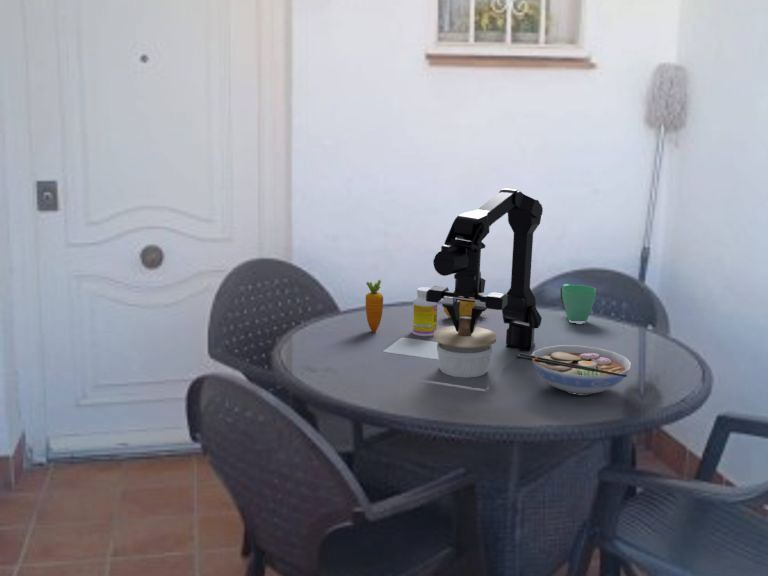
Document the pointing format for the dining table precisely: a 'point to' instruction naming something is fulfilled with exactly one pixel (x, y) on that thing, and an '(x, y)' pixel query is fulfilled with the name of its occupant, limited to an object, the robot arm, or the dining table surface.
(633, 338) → the dining table surface
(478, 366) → the ramekin
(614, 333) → the dining table surface
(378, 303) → the carrot
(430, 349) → the mat
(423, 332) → the supplement bottle
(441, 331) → the lid
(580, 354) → the ramen bowl
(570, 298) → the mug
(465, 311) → the potato
